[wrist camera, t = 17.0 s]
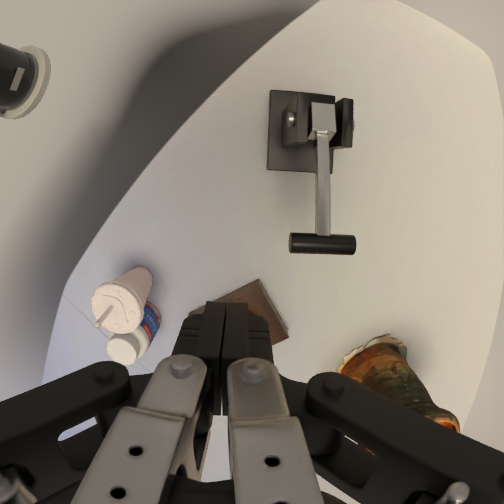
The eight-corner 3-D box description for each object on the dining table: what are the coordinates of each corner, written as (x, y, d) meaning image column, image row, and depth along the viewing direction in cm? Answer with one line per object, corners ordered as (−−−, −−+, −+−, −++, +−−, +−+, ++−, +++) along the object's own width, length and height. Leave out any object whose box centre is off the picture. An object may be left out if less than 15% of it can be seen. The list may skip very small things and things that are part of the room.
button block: (221, 359, 46) (219, 375, 42) (189, 312, 43) (184, 326, 40) (287, 329, 44) (290, 344, 41) (258, 278, 42) (259, 290, 38)
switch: (348, 255, 27) (357, 254, 25) (287, 253, 27) (291, 252, 25) (344, 117, 27) (352, 106, 25) (288, 111, 27) (292, 99, 25)
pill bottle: (168, 318, 44) (151, 356, 34) (147, 338, 45) (127, 377, 35) (140, 292, 42) (116, 326, 33) (120, 314, 43) (94, 349, 34)
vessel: (318, 353, 46) (351, 454, 27) (402, 320, 44) (468, 400, 25) (337, 411, 50) (364, 500, 30) (409, 381, 48) (456, 459, 29)
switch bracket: (329, 173, 38) (366, 180, 26) (266, 169, 38) (276, 173, 26) (332, 97, 35) (369, 73, 23) (269, 91, 35) (280, 61, 23)
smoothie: (141, 248, 41) (98, 288, 27) (171, 284, 42) (141, 338, 29) (111, 274, 42) (64, 319, 28) (139, 308, 43) (103, 364, 30)
